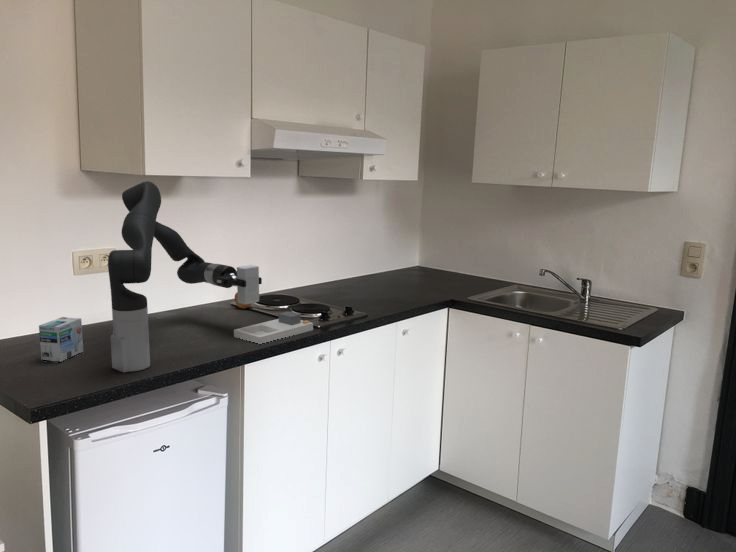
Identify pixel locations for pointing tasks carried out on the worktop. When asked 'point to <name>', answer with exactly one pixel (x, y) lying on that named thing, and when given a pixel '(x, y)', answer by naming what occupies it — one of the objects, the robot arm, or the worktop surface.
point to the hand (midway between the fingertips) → (253, 282)
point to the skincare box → (248, 284)
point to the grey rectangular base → (274, 328)
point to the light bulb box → (61, 338)
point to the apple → (240, 303)
